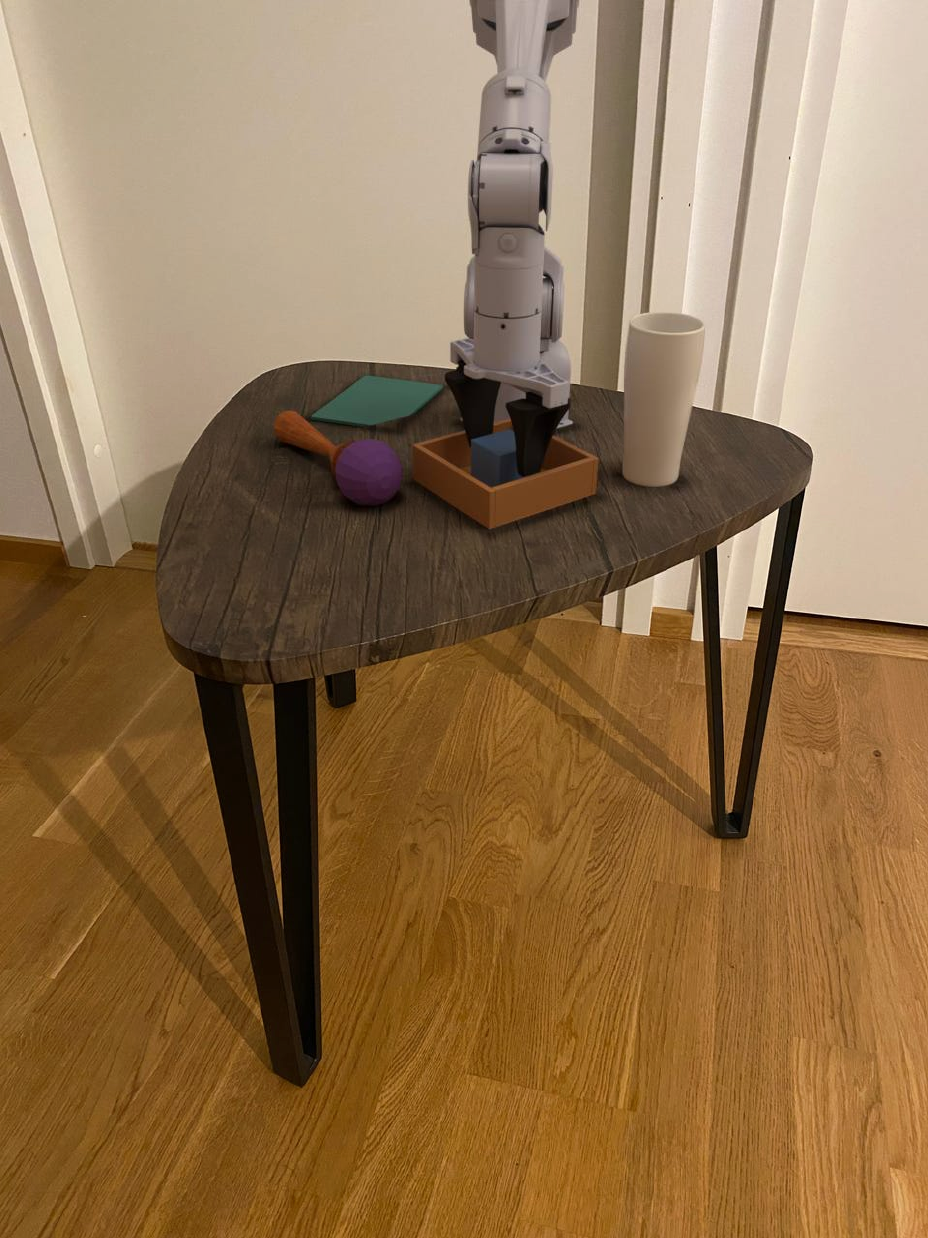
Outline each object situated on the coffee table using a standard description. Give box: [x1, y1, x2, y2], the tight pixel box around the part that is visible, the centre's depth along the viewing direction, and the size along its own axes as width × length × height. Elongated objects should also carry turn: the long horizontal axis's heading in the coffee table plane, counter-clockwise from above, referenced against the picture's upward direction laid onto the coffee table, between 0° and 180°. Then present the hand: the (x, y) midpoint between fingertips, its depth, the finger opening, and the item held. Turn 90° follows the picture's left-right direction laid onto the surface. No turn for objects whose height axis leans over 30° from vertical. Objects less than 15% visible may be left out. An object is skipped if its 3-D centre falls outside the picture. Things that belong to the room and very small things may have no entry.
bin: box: [412, 418, 599, 530], centre depth 91 cm, size 12×12×4 cm
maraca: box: [273, 410, 404, 507], centre depth 93 cm, size 6×6×20 cm
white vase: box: [621, 311, 706, 488], centre depth 90 cm, size 7×7×15 cm
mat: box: [310, 374, 444, 428], centre depth 110 cm, size 14×10×1 cm
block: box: [471, 429, 537, 488], centre depth 90 cm, size 4×4×4 cm
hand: (504, 458), depth 90 cm, fingers open, 7 cm apart
